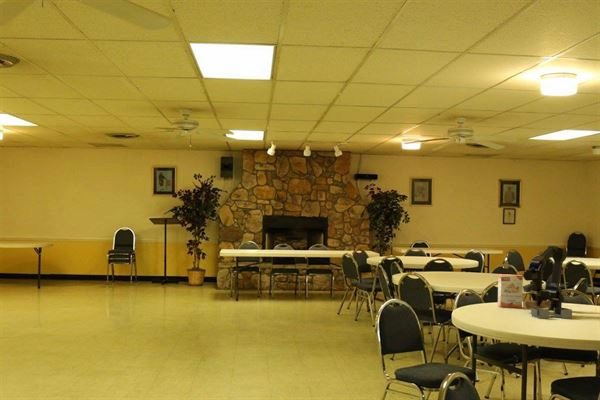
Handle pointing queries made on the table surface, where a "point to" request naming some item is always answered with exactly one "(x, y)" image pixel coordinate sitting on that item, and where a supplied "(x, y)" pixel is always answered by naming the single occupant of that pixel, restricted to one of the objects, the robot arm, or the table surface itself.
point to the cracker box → (510, 290)
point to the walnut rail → (534, 304)
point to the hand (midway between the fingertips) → (536, 305)
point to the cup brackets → (558, 313)
